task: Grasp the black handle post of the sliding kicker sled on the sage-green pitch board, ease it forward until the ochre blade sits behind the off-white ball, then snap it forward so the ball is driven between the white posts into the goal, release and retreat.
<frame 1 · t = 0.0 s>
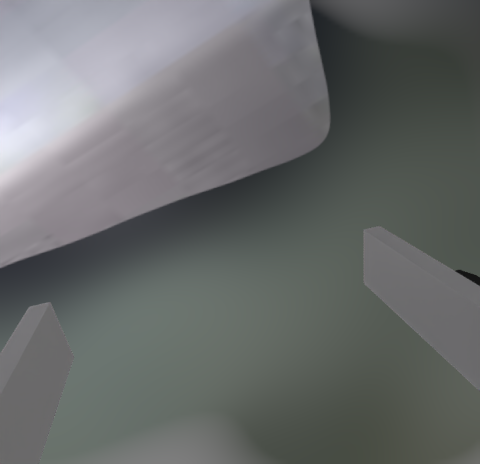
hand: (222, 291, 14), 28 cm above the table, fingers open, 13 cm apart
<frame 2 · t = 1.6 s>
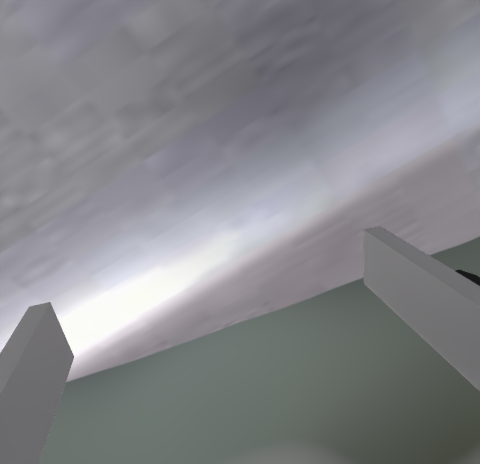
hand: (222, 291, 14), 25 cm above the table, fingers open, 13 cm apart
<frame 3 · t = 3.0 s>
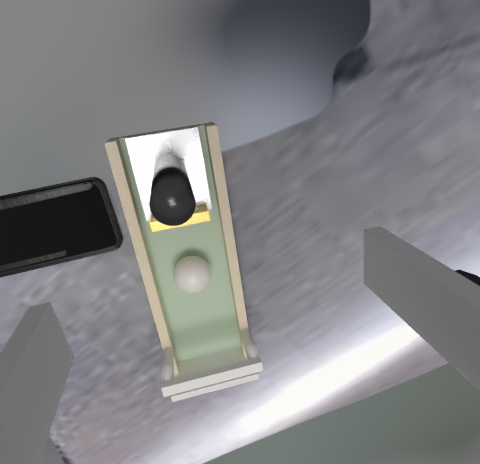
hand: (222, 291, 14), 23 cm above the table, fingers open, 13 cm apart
phone: (40, 227, 35), on the table
ball: (191, 265, 38), point 1 cm above the table, touching pitch
pitch: (189, 257, 39), on the table
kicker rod: (173, 191, 28), point 7 cm above the table, slide at 0.0 cm
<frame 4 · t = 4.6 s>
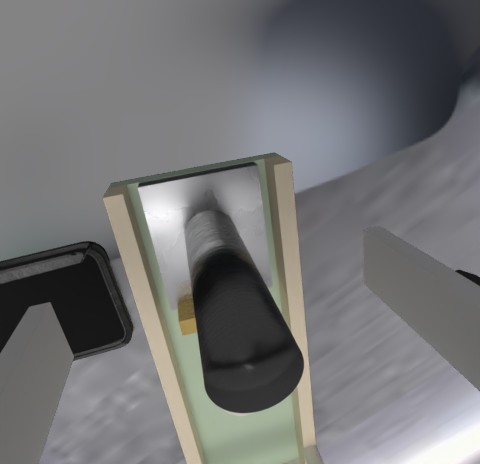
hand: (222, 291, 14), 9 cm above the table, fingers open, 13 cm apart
phone: (6, 317, 23), on the table
pitch: (230, 346, 26), on the table
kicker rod: (226, 289, 16), point 7 cm above the table, slide at 0.0 cm
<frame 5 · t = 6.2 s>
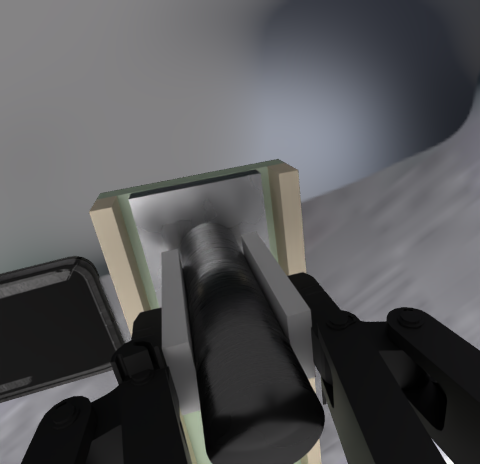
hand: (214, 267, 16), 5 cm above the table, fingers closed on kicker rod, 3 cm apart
pitch: (231, 365, 25), on the table
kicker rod: (227, 315, 14), point 7 cm above the table, slide at 0.0 cm, touching gripper
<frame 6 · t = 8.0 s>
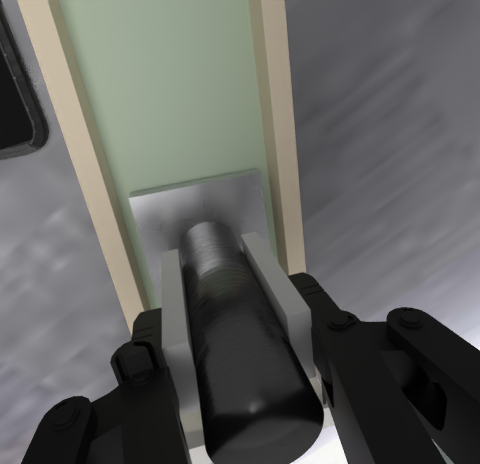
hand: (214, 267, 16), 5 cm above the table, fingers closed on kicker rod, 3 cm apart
pitch: (193, 179, 19), on the table
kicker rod: (227, 313, 14), point 7 cm above the table, slide at 13.7 cm, touching gripper
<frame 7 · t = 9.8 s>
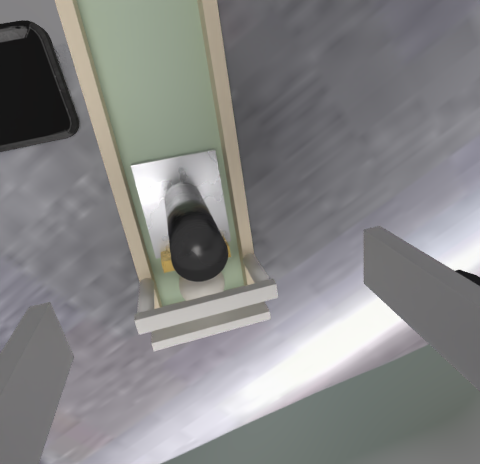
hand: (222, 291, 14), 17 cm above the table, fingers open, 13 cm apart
ball: (205, 301, 31), point 3 cm above the table, tilted 88°, touching pitch
pitch: (173, 156, 29), on the table
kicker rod: (191, 229, 24), point 7 cm above the table, slide at 13.7 cm
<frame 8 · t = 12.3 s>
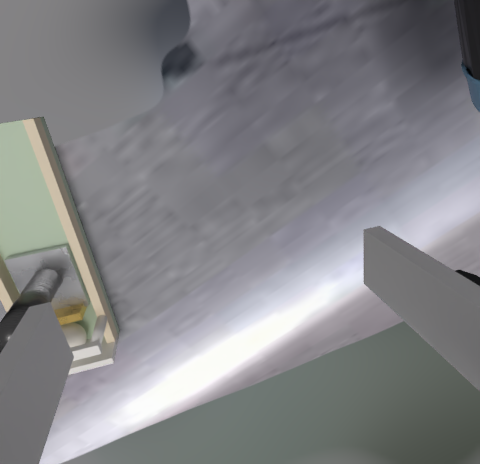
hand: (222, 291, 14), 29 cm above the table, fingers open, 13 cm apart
ball: (75, 348, 43), point 3 cm above the table, tilted 73°, touching pitch
pitch: (43, 247, 41), on the table
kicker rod: (35, 310, 35), point 7 cm above the table, slide at 13.7 cm
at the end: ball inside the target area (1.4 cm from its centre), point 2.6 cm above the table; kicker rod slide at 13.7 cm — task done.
